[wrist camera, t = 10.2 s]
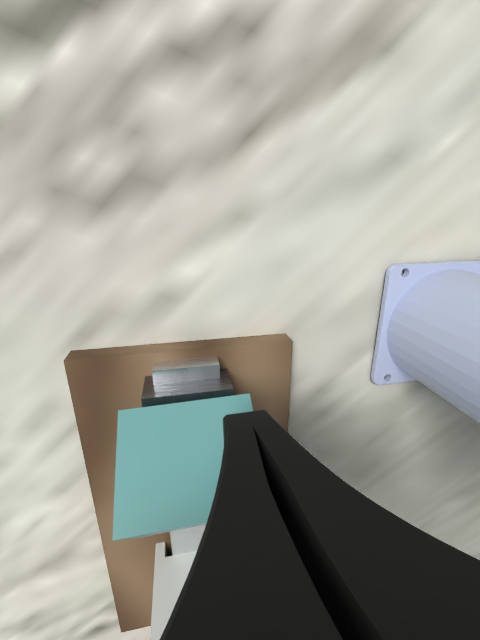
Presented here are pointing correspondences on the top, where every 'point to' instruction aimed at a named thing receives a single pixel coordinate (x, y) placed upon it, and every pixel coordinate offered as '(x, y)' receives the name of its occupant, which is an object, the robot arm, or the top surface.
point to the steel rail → (181, 386)
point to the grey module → (167, 586)
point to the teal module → (169, 464)
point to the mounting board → (125, 393)
